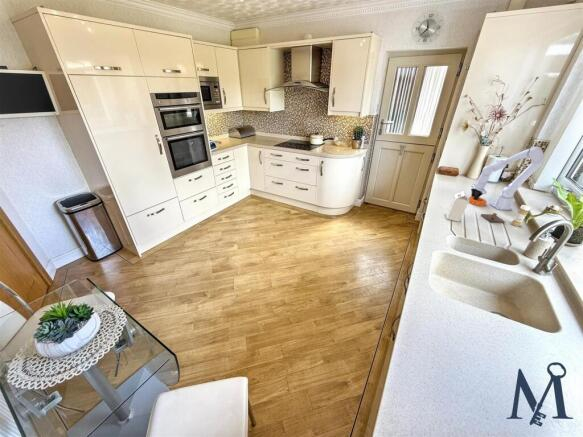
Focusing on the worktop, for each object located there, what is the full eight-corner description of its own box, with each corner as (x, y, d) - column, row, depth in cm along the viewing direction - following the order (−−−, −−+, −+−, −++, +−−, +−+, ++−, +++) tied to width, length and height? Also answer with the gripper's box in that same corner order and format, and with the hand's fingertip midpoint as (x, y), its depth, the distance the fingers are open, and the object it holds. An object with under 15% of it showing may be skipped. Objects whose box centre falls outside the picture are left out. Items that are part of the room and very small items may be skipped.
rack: (494, 216, 159) (497, 210, 157) (503, 222, 152) (507, 217, 149) (480, 215, 159) (483, 210, 157) (490, 222, 152) (493, 216, 150)
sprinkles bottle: (520, 225, 150) (532, 206, 143) (518, 227, 147) (530, 208, 141) (512, 222, 153) (523, 203, 146) (509, 224, 151) (520, 205, 144)
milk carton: (457, 217, 156) (470, 191, 146) (459, 222, 150) (472, 195, 141) (445, 214, 158) (457, 188, 149) (446, 219, 153) (458, 192, 143)
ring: (478, 200, 182) (480, 196, 180) (488, 206, 172) (490, 203, 171) (464, 199, 182) (466, 196, 180) (473, 205, 172) (475, 202, 171)
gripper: (470, 178, 179) (463, 194, 186) (482, 185, 167) (474, 202, 174) (479, 179, 179) (471, 195, 186) (492, 186, 167) (484, 203, 174)
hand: (473, 198), depth 180 cm, fingers closed on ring, 2 cm apart
